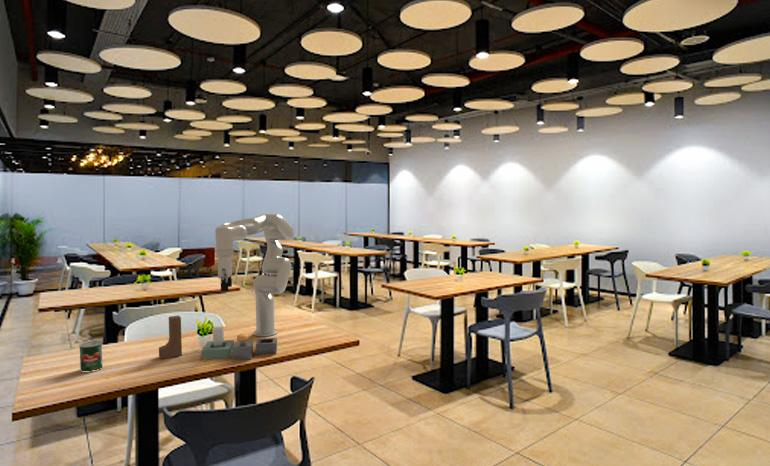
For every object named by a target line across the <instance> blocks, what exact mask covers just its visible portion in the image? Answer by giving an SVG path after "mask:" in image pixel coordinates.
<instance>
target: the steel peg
mask: <svg viewBox="0 0 770 466" xmlns="http://www.w3.org/2000/svg"><path fill="white" fill-rule="evenodd" d="M224 333H225V332H224V326H214V327H213V329H212V338H213V339H212V341H213V347H224V337H225V336H224V335H225V334H224Z"/></svg>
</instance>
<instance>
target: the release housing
mask: <svg viewBox="0 0 770 466" xmlns="http://www.w3.org/2000/svg"><path fill="white" fill-rule="evenodd" d="M253 356H254V341H253V340H247V341H246V345H241V344H240V341H234V345H233V352H232V360H233V361H244V360H247V361H248V360H252V359H253Z"/></svg>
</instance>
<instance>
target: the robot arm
mask: <svg viewBox="0 0 770 466" xmlns="http://www.w3.org/2000/svg"><path fill="white" fill-rule="evenodd" d="M262 232H263V236H264V238H265V242H266V245H267V250H266V253H265V255H264V259H263V262H262V266H261V270H262V272H263V273H264V274H261V275H258V276H256V277H255V278H254V280H253V283H252V284H253V290H254V296H255V329H256V330H253V336H256V337H271V336H274V335H277V334H278V329H276V328H275V300H274V296H273V294H274V295H280V294H283V293H284V292H285V291H286V288H287V286H288V281H289V278H290V275H291V271H292V262H291V259H289V258H287V257H282V255H283V253H284V250H283V246H282V245H281V243H280V241H283V242H284V241H286V242H288V241H290V240H292V239H293V237H294V235H295V232H294V228H293V226H292V225H291V223H289V222H288V221H287V219H285V218H284V216H282V215H280V214H278V213H263V214H262V213H261V214H259V215H256V216H253V217H249V218H245V219H240V220H234V221H229V222H226V223H223V224H221V225H219V226H217V227H216V228H215V231H214V233H215V251H216V252H215V253H216V257H217V277H218V279H220V292H228V291H229V288H231V287H232V286H233V279H232V274H233V263H232V257H234V241H243V240H245V239H246V238H247V236H252V235H253V236H254V235H256V234H260V233H262Z"/></svg>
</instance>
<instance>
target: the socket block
mask: <svg viewBox="0 0 770 466" xmlns="http://www.w3.org/2000/svg"><path fill="white" fill-rule="evenodd" d="M277 350H278V338H277V337H268V338H265V337H264V338H257V340H256V343H255V355H256V356H263V355H277V352H278V351H277Z"/></svg>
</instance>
